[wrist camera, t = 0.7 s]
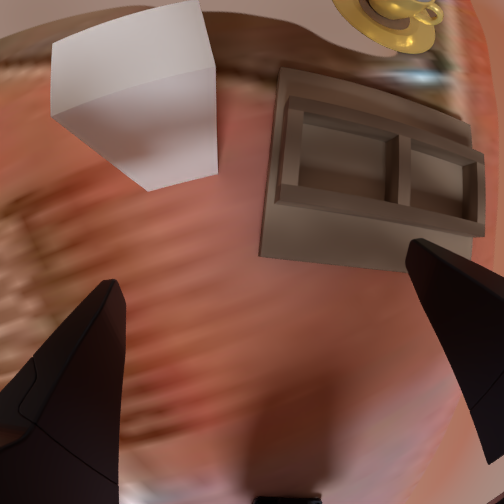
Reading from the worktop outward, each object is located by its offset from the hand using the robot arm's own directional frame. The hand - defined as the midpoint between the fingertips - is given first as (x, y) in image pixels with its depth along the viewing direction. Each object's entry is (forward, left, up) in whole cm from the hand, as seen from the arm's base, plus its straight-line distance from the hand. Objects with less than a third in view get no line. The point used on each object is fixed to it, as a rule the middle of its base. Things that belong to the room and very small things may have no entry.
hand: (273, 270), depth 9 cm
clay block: (+5, +6, -13) cm, 15 cm away
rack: (+8, -9, -13) cm, 18 cm away
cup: (+27, -8, -13) cm, 31 cm away
